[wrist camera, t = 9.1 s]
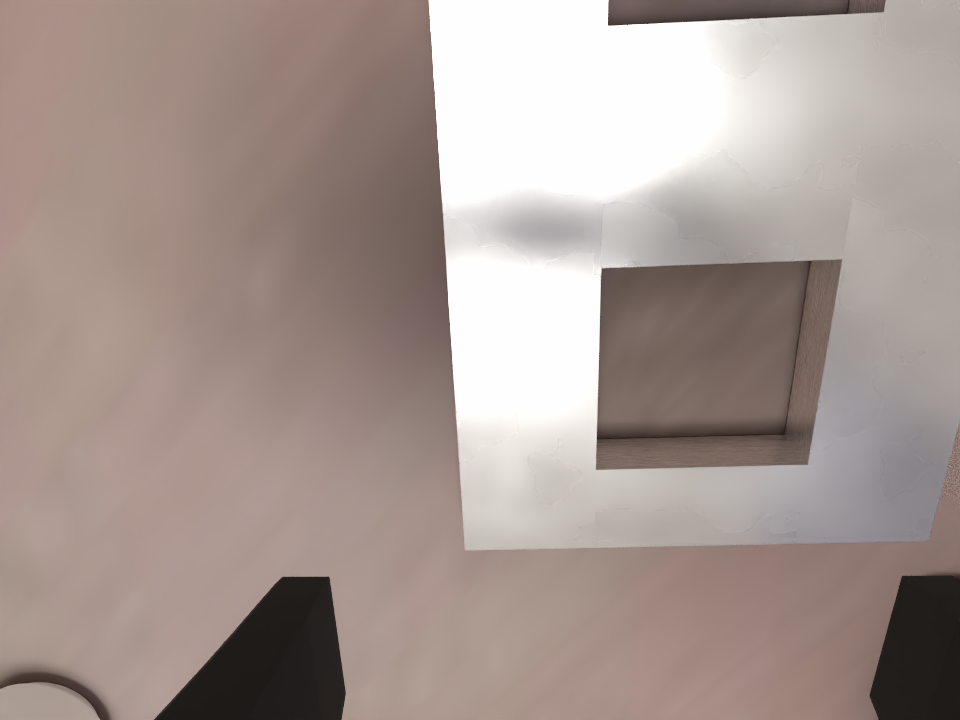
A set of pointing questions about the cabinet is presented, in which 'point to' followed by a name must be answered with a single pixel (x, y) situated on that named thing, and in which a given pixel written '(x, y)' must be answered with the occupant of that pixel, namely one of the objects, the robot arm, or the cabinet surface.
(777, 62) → the panel
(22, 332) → the cabinet surface
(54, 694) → the joystick
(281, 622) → the robot arm
